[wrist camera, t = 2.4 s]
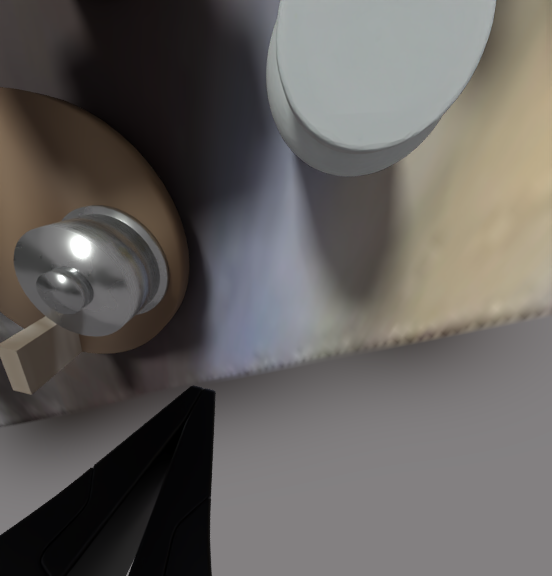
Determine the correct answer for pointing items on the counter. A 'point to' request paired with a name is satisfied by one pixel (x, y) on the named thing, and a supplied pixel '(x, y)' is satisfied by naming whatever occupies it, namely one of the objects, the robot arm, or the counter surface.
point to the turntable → (56, 205)
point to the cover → (92, 269)
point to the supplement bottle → (369, 75)
